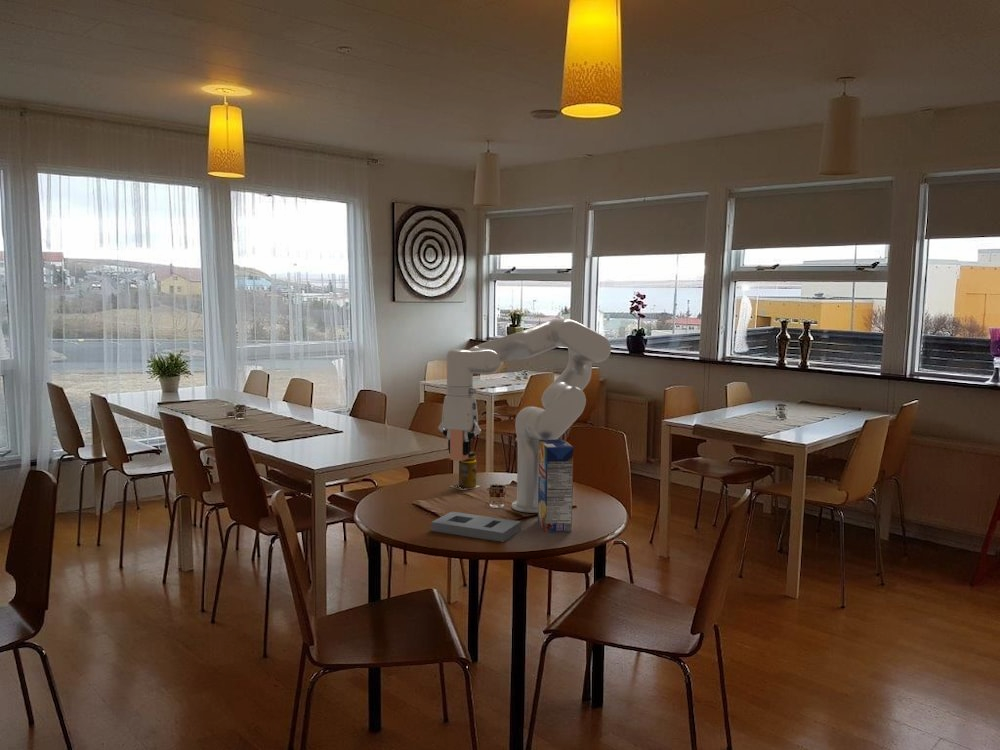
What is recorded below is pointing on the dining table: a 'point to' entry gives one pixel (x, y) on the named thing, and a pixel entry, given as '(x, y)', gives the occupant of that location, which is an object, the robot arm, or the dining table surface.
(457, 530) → the socket board
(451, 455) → the square peg
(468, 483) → the condiment
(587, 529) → the dining table surface
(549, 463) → the juice carton
